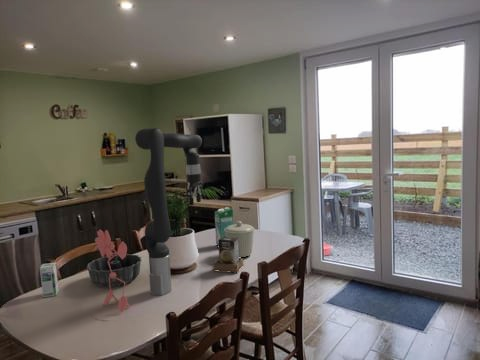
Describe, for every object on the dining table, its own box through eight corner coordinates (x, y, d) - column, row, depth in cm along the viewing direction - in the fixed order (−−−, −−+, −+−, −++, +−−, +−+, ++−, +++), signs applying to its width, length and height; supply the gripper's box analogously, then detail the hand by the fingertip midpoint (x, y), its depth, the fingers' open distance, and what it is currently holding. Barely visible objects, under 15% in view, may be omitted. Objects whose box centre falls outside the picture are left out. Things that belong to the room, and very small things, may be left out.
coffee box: (219, 269, 192) (217, 239, 190) (224, 264, 198) (222, 236, 196) (235, 270, 189) (233, 240, 187) (239, 266, 195) (238, 237, 193)
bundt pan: (97, 272, 196) (96, 255, 195) (147, 269, 198) (145, 251, 197) (80, 293, 170) (78, 272, 169) (137, 289, 172) (135, 269, 171)
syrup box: (42, 297, 167) (39, 267, 165) (45, 292, 172) (42, 263, 170) (56, 296, 168) (53, 265, 166) (58, 291, 174) (55, 261, 172)
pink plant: (109, 296, 165) (101, 221, 160) (143, 312, 149) (135, 229, 144) (76, 310, 153) (66, 230, 148) (109, 329, 137) (100, 239, 132)
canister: (256, 260, 206) (254, 224, 203) (224, 261, 206) (222, 225, 204) (255, 250, 224) (254, 217, 221) (226, 251, 224) (224, 218, 222)
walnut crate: (237, 273, 187) (236, 265, 186) (214, 271, 191) (213, 263, 191) (243, 266, 197) (243, 258, 196) (221, 264, 201) (221, 256, 200)
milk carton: (216, 245, 237) (214, 208, 234) (228, 243, 241) (227, 206, 238) (221, 249, 229) (219, 210, 226) (234, 246, 233) (232, 208, 230)
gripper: (193, 171, 197) (194, 201, 199) (180, 174, 184) (182, 205, 186) (205, 171, 195) (207, 201, 197) (193, 174, 181) (195, 206, 183)
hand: (195, 203), depth 191 cm, fingers open, 8 cm apart
